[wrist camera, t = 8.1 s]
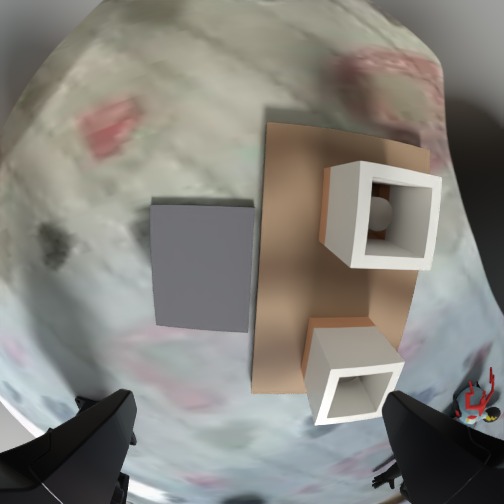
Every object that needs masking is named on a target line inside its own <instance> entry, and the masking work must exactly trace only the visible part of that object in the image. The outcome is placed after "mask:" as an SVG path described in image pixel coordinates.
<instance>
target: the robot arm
mask: <svg viewBox="0 0 504 504" xmlns="http://www.w3.org/2000/svg"><path fill="white" fill-rule="evenodd" d="M75 401H76V403H77V406H78V408H79V411H78V413H77V414H76V416H75V417H73V418H72V419H70V420H68V421H66V422H65V423H63V424H61V425H60V426H58V427H56V428H54V429H52V428H49V429H48V431H47V432H46V433H45V434H44V435H42V436H40V437H38V438H36V439H34V440H32V441H30V442H27V443H25V444H23V445H20V446H18V447H15V448H13V449H10V450H7V451H4V452H2V453H0V504H126V498H127V491H128V484H129V476H128V475H127V474H124V473H122V472H120V471H121V468H122V465H123V462H124V460H125V457H126V454H127V451H128V448H129V444H130V445H136V443H137V441H136V439H135V436H134V434H133V426H134V422H135V418H136V413H137V407H136V403H135V399H134V395H133V393H132V391H130V390H126V389H119V390H118V391H116V392H114V393H113V394H111V395H110V396H108V397H106V398H105V399H103V400H102V401H100V402H95V401H91V400H88V399H85V398H82V397H79V396H77V397H76V398H75ZM382 416H383V419H384V423H385V427H386V431H387V434H388V438H389V442H390V445H391V448H392V451H393V453H394V456H395V459H396V461H397V464H398V467H399V469H400V472H401V475H402V477H403V480H404V483H405V486H406V489H407V492H408V495H409V497H410V500H411V503H412V504H504V440H501V439H498V438H495V437H492V436H490V435H487V434H484V433H482V432H480V431H477V430H475V429H473V428H471V427H469V426H468V427H467V425H465V424H463V423H461V422H459V421H457V420H455V419H453V418H451V417H449V416H447V415H445V414H443V413H441V412H439V411H437V410H435V409H433V408H431V407H429V406H427V405H426V404H424V403H422V402H420V401H418V400H416V399H414V398H412V397H411V396H409V395H407V394H405V393H403V392H401V391H399V390H397V391H392V392H389V393H388V395H387V397H386V400H385V402H384V404H383V406H382Z"/></svg>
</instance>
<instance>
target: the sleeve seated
mask: <svg viewBox="0 0 504 504" xmlns="http://www.w3.org/2000/svg"><path fill="white" fill-rule="evenodd" d="M404 363H405V361H404V360H403V359H402V358H401V356H400V355H399V354H398V353H397V351H396V350H395V349H394V347H393V346H392V345H391V344H390V342H389V341H388V340H387V339H386V338H385V336H384V335H383V334H382V333H381V331H380V330H379V329H378V328H377V326H376V325H375V324H374V323H373V322H372V320H371V319H370V318H369V317H341V318H309V324H308V331H307V337H306V343H305V349H304V355H303V360H302V366H301V372H302V376H303V380H304V384H305V388H306V392H307V396H308V400H309V404H310V408H311V412H312V416H313V420H314V424H315V425H325V424H335V423H343V422H351V421H358V420H364V419H370V418H376V417H381V416H382V406H383V404H384V402H385V400H386V397H387V395H388V393H389V392H392V391H393V390H394V388H395V386H396V383H397V381H398V378H399V376H400V373H401V371H402V368H403V366H404ZM350 376H357V377H356V378H355V379H353V380H351V381H349V382H339V381H338V380H339V377H350Z"/></svg>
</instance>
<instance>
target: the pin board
mask: <svg viewBox="0 0 504 504" xmlns="http://www.w3.org/2000/svg"><path fill="white" fill-rule="evenodd" d="M356 161H366V162H371V163H377V164H383V165H388V166H393V167H398V168H403V169H407V170H412V171H416V172H421V173H425V174H429V175H430V150H427V149H424V148H420V147H417V146H413V145H409V144H405V143H401V142H397V141H393V140H388V139H384V138H379V137H375V136H370V135H365V134H359V133H354V132H348V131H342V130H336V129H329V128H322V127H314V126H306V125H297V124H287V123H275V122H267V125H266V143H265V163H264V182H263V200H262V218H261V236H260V253H259V270H258V287H257V303H256V319H255V334H254V350H253V365H252V379H251V393H253V394H300V393H307V392H306V388H305V384H304V380H303V376H302V372H301V366H302V360H303V355H304V349H305V343H306V337H307V331H308V324H309V318H341V317H369V318H370V319H371V320H372V322H373V323H374V324H375V325H376V326H377V328H378V329H379V330H380V331H381V333H382V334H383V335H384V336H385V338H386V339H387V340H388V341H389V342H390V344H391V345H392V346H393V347H394V349H395V350H396V351H397V350H398V347H399V344H400V341H401V338H402V334H403V331H404V328H405V324H406V321H407V317H408V313H409V310H410V306H411V302H412V298H413V293H414V289H415V285H416V280H417V275H418V270H397V269H367V268H350V267H349V266H348V265H346V264H345V263H344V262H343V261H342V260H341V259H339V258H338V257H337V256H336V255H335V254H334V253H332V252H331V251H330V250H329V249H328V248H327V247H325V246H324V245H323V244H322V243H321V242H319V230H320V219H321V207H322V193H323V177H324V168H328V167H333V166H337V165H342V164H347V163H351V162H356ZM379 189H380V185H375V184H372V190H371V203H370V214H369V224H368V232H367V235H374V236H375V232H376V231H382V230H384V229H386V228H387V227H388V226H389V225H390V223H391V221H392V218H393V210H392V207H391V205H390V203H389V202H388V201H387V200H386V199H384V198H380V197H379ZM356 377H357V376H350V377H339V380H338V381H339V382H349V381H351V380H353V379H355V378H356Z"/></svg>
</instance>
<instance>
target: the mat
mask: <svg viewBox="0 0 504 504" xmlns="http://www.w3.org/2000/svg"><path fill="white" fill-rule="evenodd" d="M253 228H254V207H236V206H208V205H150V232H151V263H152V281H153V294H154V306H155V317H156V325H159V326H168V327H177V328H188V329H199V330H212V331H227V332H245V333H248V324H249V304H250V285H251V266H252V247H253Z"/></svg>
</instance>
